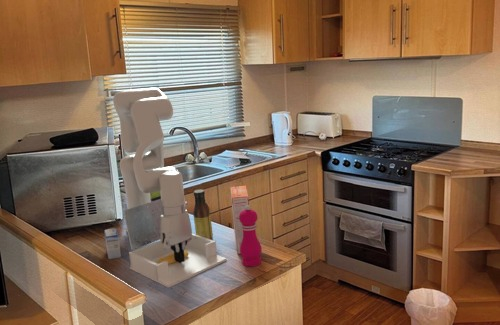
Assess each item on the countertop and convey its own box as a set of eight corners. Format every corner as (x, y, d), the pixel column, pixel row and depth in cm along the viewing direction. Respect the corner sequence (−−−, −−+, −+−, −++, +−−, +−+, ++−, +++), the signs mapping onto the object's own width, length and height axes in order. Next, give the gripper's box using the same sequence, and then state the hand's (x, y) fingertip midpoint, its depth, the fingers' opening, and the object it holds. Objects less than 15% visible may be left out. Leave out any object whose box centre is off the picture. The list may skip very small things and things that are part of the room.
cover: (132, 249, 158) (131, 249, 159) (183, 230, 173) (182, 230, 174) (124, 210, 157) (123, 210, 157) (176, 194, 172) (175, 194, 172)
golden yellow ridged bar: (156, 264, 159) (156, 259, 159) (182, 253, 167) (182, 248, 166) (163, 267, 157) (163, 262, 156) (190, 256, 164) (189, 251, 164)
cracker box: (234, 239, 178) (230, 186, 174) (250, 238, 179) (246, 184, 174) (236, 255, 165) (231, 197, 160) (253, 253, 165) (249, 195, 160)
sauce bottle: (204, 236, 184) (200, 187, 179) (216, 239, 180) (212, 189, 176) (192, 242, 179) (187, 191, 175) (204, 245, 175) (199, 193, 171)
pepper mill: (236, 263, 158) (231, 206, 154) (251, 256, 163) (247, 200, 158) (251, 269, 153) (247, 210, 148) (267, 261, 158) (263, 204, 153)
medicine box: (106, 251, 176) (103, 229, 174) (119, 249, 177) (116, 227, 175) (108, 259, 169) (105, 236, 167) (121, 257, 170) (118, 234, 168)
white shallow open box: (130, 268, 160) (127, 252, 158) (186, 245, 176) (185, 230, 175) (168, 287, 144) (166, 269, 143) (226, 260, 161) (225, 243, 159)
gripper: (185, 201, 163) (190, 251, 167) (148, 213, 153) (154, 266, 157) (199, 205, 158) (204, 256, 162) (161, 217, 147) (168, 272, 151)
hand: (179, 261), depth 159 cm, fingers closed
